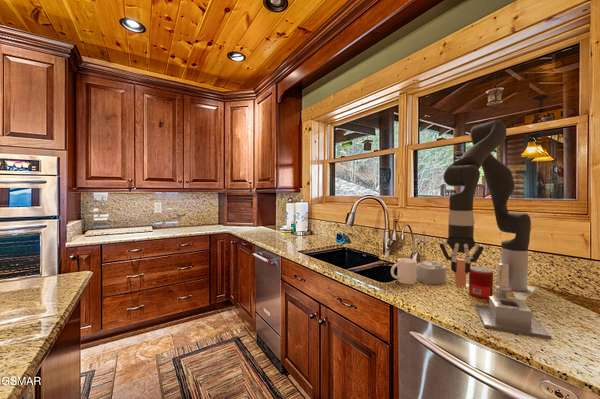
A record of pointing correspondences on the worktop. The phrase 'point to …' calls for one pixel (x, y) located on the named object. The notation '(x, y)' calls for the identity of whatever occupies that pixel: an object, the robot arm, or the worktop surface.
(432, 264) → the lumpy-topped squat cylinder
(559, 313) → the worktop surface
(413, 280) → the mug
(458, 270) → the stepped block
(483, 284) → the canned food
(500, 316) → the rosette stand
